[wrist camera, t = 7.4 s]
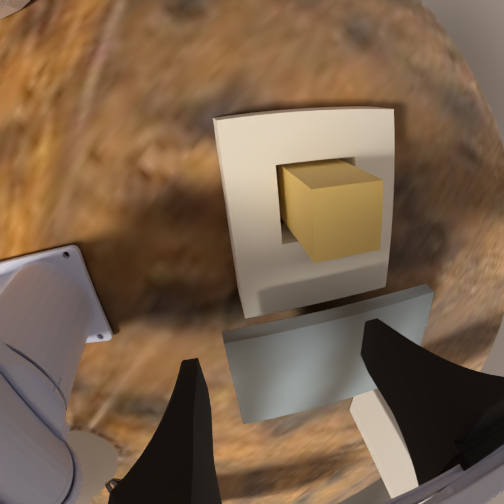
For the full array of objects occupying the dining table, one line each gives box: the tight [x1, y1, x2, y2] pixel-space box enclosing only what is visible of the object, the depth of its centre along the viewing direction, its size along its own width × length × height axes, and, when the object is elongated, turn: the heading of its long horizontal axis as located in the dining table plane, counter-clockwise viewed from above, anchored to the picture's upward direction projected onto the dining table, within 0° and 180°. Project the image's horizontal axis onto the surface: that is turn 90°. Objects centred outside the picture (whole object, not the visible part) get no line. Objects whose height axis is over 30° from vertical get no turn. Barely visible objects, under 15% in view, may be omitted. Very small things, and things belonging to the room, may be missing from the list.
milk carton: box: [350, 388, 433, 504], centre depth 23 cm, size 7×7×19 cm
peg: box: [276, 158, 383, 263], centre depth 17 cm, size 4×4×7 cm
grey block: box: [222, 284, 434, 424], centre depth 22 cm, size 13×9×7 cm
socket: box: [213, 106, 395, 318], centre depth 19 cm, size 10×12×3 cm
